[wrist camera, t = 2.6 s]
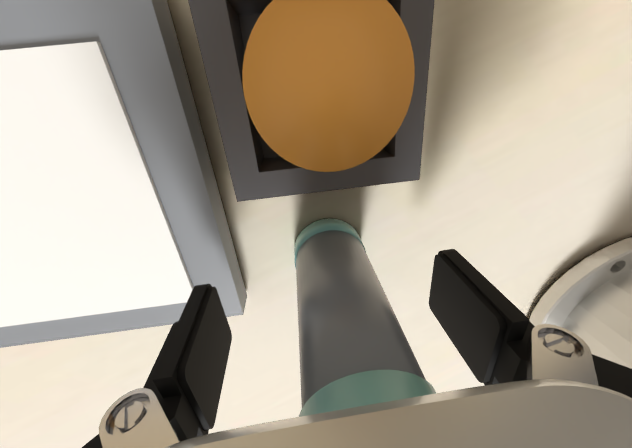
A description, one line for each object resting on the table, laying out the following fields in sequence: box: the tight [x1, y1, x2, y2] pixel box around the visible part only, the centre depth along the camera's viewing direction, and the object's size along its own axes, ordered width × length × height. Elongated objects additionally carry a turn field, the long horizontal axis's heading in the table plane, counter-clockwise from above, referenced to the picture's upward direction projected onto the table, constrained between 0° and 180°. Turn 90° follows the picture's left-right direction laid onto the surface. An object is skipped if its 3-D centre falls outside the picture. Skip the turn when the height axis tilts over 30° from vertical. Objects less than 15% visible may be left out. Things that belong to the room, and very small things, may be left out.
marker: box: [294, 219, 436, 417], centre depth 10 cm, size 4×4×11 cm
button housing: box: [188, 0, 434, 202], centre depth 10 cm, size 7×7×3 cm
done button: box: [242, 0, 415, 172], centre depth 8 cm, size 4×4×2 cm
